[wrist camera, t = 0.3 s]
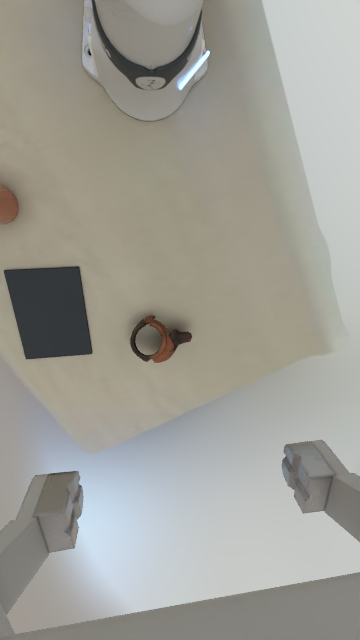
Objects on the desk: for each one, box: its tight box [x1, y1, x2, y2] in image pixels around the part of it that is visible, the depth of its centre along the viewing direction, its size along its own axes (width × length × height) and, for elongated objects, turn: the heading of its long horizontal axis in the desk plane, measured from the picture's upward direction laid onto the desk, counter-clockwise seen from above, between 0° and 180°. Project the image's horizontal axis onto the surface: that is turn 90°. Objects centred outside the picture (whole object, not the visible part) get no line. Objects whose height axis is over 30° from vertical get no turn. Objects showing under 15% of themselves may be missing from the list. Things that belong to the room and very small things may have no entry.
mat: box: [4, 267, 92, 359], centre depth 55 cm, size 18×13×1 cm
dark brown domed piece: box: [130, 316, 192, 363], centre depth 57 cm, size 12×10×8 cm
